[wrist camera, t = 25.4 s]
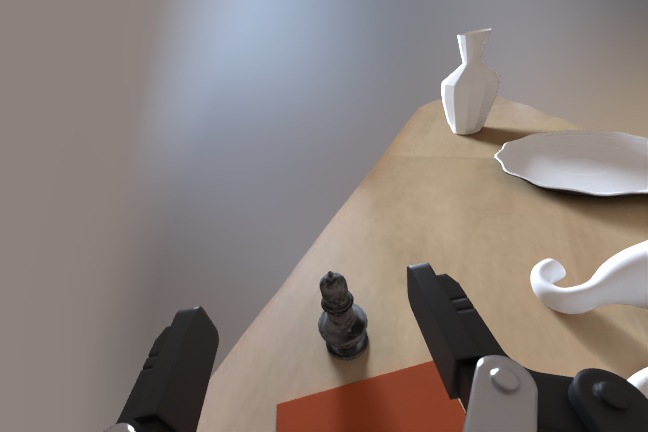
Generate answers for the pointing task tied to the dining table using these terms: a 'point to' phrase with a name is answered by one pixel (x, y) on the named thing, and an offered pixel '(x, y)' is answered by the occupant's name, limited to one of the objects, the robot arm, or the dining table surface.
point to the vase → (470, 86)
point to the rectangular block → (377, 406)
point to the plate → (580, 162)
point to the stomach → (599, 289)
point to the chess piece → (341, 319)
